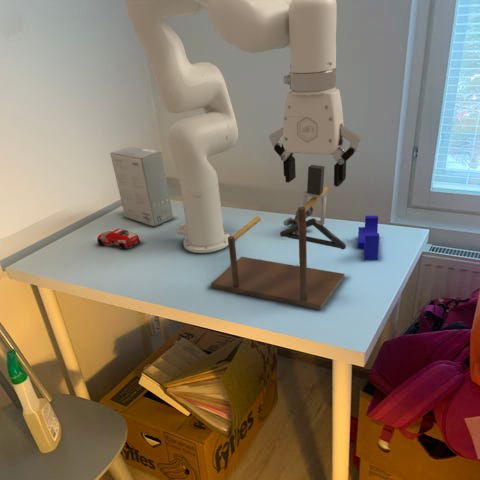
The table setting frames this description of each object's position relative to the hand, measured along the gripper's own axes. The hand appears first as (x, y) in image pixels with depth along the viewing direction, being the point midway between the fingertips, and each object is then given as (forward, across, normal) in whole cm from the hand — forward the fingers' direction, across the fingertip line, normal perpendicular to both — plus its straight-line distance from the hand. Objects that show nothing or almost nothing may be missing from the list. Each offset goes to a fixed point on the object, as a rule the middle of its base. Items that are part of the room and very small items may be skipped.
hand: (314, 182), depth 92 cm
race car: (+24, -60, +5) cm, 65 cm away
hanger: (+12, -1, 0) cm, 12 cm away
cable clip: (+24, +4, +23) cm, 33 cm away
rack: (+24, -9, 0) cm, 25 cm away
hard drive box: (+24, -64, +23) cm, 72 cm away
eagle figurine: (+24, -16, +28) cm, 40 cm away
